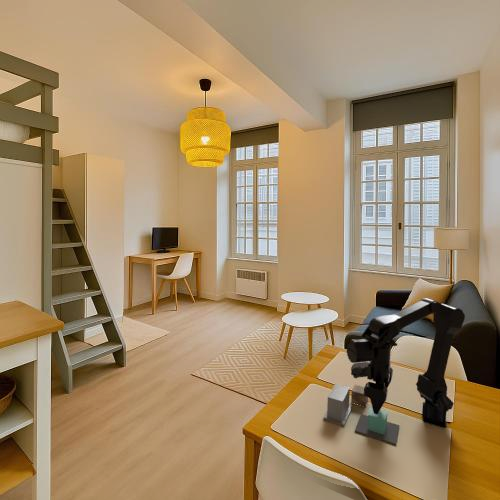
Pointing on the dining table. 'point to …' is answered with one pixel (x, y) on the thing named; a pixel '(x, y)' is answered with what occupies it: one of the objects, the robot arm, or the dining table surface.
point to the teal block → (377, 421)
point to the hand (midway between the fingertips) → (377, 406)
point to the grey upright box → (338, 405)
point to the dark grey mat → (389, 435)
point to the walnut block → (358, 396)
